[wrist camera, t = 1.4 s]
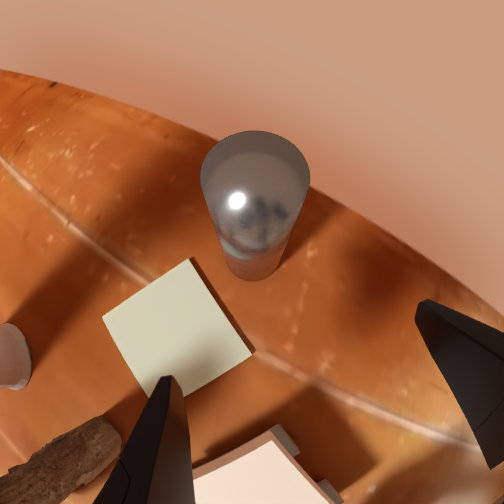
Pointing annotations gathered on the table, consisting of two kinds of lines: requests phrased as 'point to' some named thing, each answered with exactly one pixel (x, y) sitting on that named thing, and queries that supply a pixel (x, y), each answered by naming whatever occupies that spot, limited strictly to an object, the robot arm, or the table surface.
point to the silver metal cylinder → (254, 198)
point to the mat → (175, 332)
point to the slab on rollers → (261, 475)
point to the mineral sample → (62, 465)
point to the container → (14, 358)
